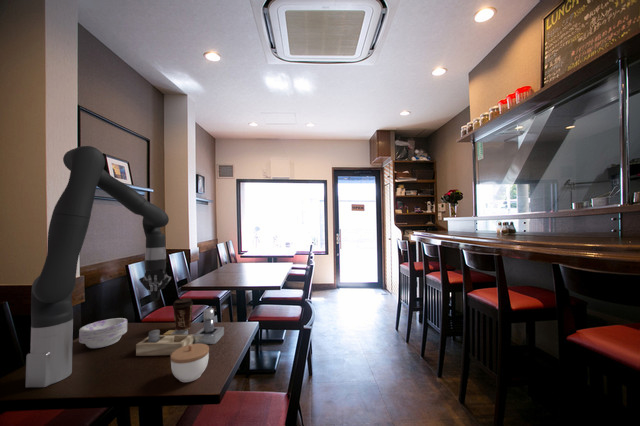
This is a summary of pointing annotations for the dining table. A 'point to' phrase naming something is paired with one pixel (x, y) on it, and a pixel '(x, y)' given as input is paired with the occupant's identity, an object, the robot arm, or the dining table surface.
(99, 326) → the paper bowls
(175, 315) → the coffee cup
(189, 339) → the rack
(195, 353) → the lidded jar
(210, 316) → the grey metal cylinder
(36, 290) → the robot arm
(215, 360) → the dining table surface
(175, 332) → the white and yellow block
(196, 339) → the socket block
